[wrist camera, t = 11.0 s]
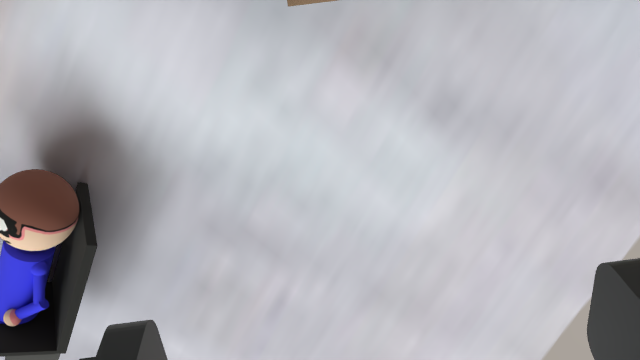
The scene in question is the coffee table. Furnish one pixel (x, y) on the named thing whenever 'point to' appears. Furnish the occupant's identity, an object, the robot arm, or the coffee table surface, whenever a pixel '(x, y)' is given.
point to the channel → (305, 2)
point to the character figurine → (42, 262)
